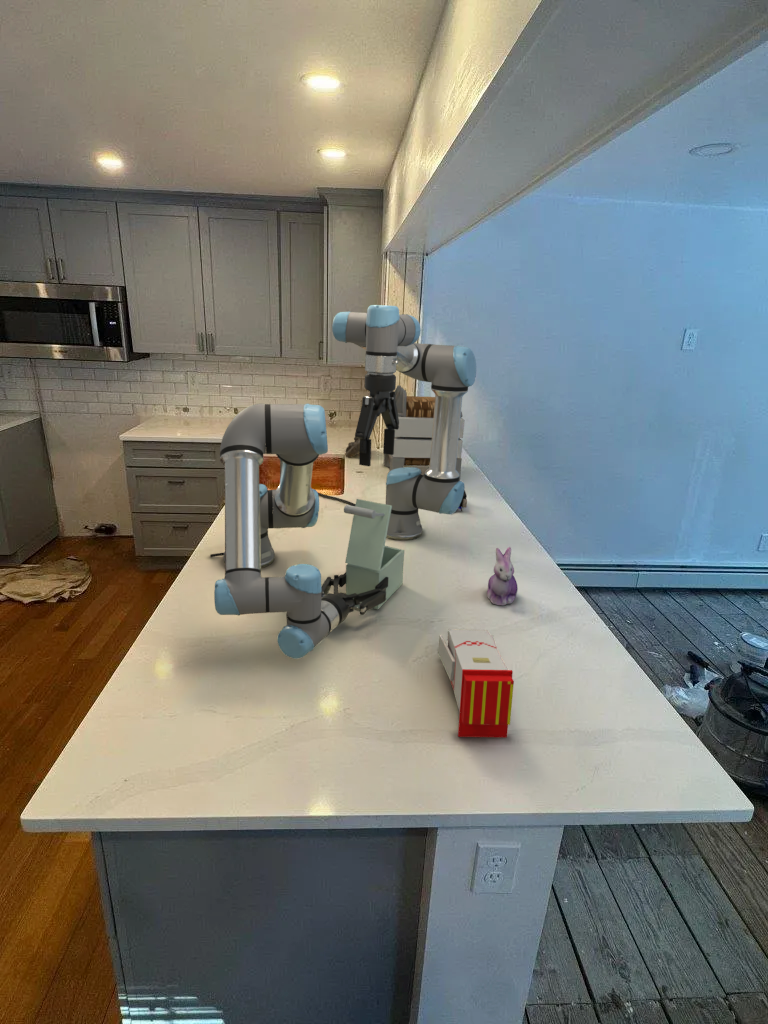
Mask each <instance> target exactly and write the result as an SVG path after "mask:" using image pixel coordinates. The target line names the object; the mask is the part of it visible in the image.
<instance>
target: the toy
mask: <svg viewBox="0 0 768 1024" xmlns="http://www.w3.org/2000/svg"><path fill="white" fill-rule="evenodd" d="M446 640H447V643H446V641H445V639H444V636H443V635H442V634H439V637H438V646H437V656H438V657H439V659H440V661H441V663H442V666H443V668H444V670H445V672H446V674H447V677H448V679H449V681H450V684H451V687H452V690H453V693H454V697H455V701H456V705H457V708H458V711H459V714H458V715H459V716H458V730H457V731H458V732H457V737H458V738H508V731H509V726H510V725H511V717H512V707H513V697H514V696H513V695H514V684H515V680H514V679H513V673H514V671H513V670H512V669H508V667H507V665H506V662H505V661H504V659H503V658H502V655H501V653H500V651H499V649H498V647H497V643H496V639H495V637H494V635H493V634H491V632H490V631H489V629H467V628H466V629H465V628H463V629H461V628H460V629H459V628H448V630H447V639H446Z"/></svg>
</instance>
